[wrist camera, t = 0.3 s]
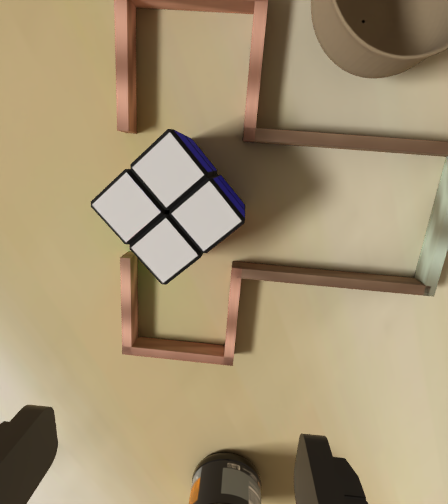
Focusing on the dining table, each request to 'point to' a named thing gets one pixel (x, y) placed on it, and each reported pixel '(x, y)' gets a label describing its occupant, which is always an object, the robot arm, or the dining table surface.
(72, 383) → the dining table surface
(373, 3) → the bowl
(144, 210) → the puzzle cube
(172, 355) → the bent wall strips
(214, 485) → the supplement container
